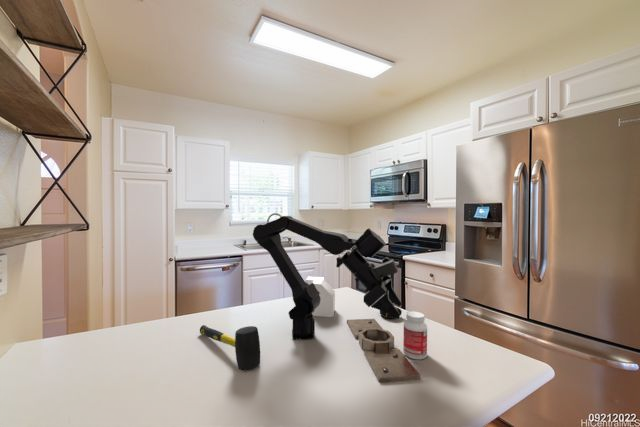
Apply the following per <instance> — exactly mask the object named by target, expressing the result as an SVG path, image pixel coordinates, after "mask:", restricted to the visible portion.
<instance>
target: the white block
mask: <svg viewBox="0 0 640 427" xmlns="http://www.w3.org/2000/svg"><path fill="white" fill-rule="evenodd" d="M305 282H306V283H308V284H309V285H310V284H311V283H313V284H314V285H315V287H316V289H317V290H318V291H319V292H320V294H319V296H320V299H321V300H320V304H319V306H318V307H317V308H316V309H315V311H314V312H313V313H312V315H313V317H327V318H334V314H335V311H336V310H335V308H336V307H335V304H336V303H335V302H336V298H335V297H336V294H335V292H336V291H335V290H334V289H333V287H331V286H330V285H329V284H328V282H326V280H325V277H323V276H307V278H306V279H305Z"/></svg>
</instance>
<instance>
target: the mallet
mask: <svg viewBox="0 0 640 427" xmlns="http://www.w3.org/2000/svg"><path fill="white" fill-rule="evenodd" d="M199 333H200V335H202V336H206V337H207V338H210V339H212V340H214V341H218V342H220V343H223V344H226V345H229V346H231V347H233V348H234V350H235V360H236V363H237V364H236V365H237V368H238V370H239V371H243V372H247V371H251V370H254V369H256V368H258V367H260V364H261V345H260V344H261V342H260V334H259V329H258V327H257V326H254V325H253V326H252V325H250V326H244V327H243V326H242V327H241V328H238V329H237V330H236V331H235V335H234V336H235V337H231V336H230V335H227V334H225V333H223V332H222V331H219V330H216V329H214V328H210V327H208V326H207V325H204V324H203V325H201V326H200V328H199Z"/></svg>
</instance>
